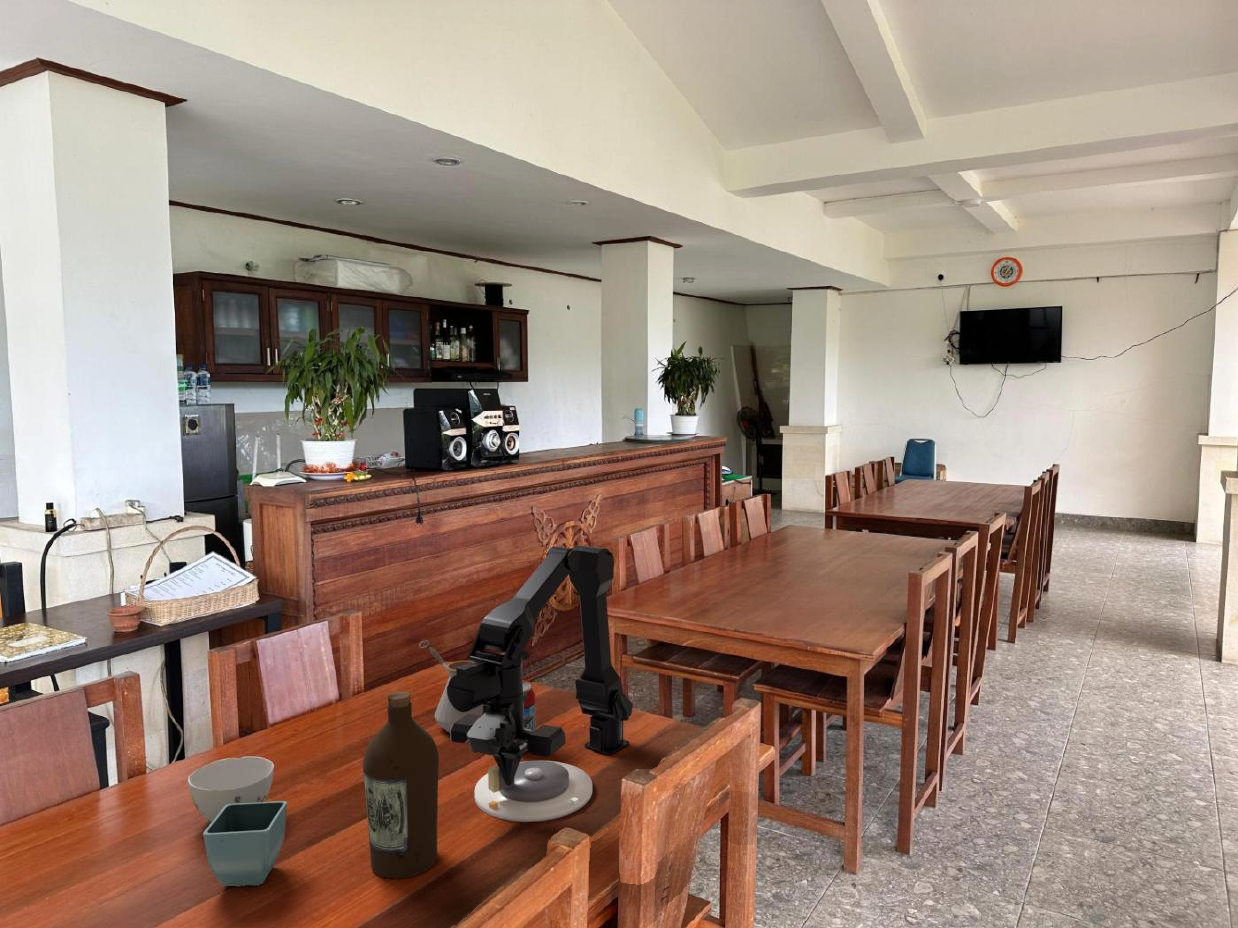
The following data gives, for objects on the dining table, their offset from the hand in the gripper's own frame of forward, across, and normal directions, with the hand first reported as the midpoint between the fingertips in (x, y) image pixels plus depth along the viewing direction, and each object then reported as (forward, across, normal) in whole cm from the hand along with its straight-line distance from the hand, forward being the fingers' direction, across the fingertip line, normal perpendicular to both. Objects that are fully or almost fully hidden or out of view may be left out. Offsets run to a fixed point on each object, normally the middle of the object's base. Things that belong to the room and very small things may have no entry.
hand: (509, 784), depth 138 cm
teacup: (+4, -41, -19) cm, 45 cm away
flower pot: (+4, -24, -31) cm, 40 cm away
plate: (+4, +1, +7) cm, 8 cm away
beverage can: (+4, -11, +21) cm, 24 cm away
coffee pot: (+4, -31, +28) cm, 42 cm away
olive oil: (+4, -6, -19) cm, 21 cm away
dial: (+3, 0, +6) cm, 6 cm away
